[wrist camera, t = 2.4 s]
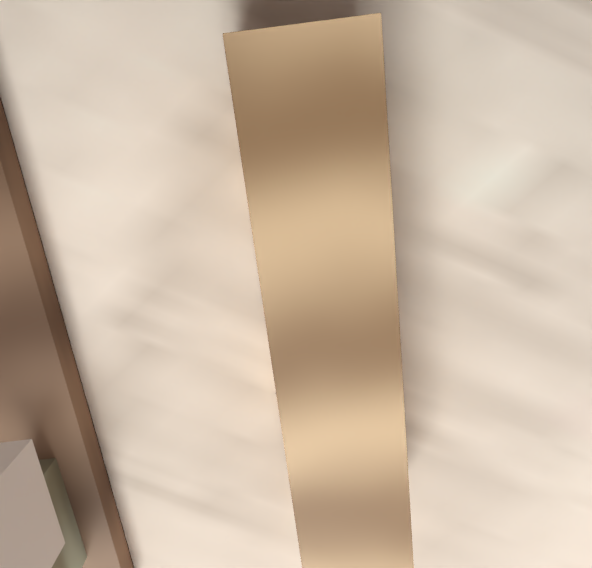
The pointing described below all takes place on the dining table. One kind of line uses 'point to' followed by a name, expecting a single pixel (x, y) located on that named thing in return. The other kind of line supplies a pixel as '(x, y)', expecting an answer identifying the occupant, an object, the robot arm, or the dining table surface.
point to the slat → (328, 279)
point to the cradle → (49, 385)
